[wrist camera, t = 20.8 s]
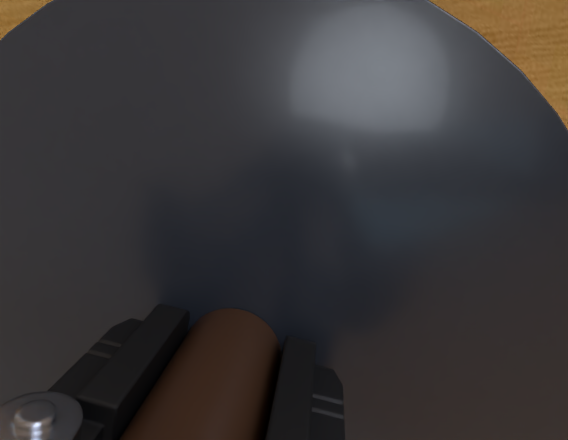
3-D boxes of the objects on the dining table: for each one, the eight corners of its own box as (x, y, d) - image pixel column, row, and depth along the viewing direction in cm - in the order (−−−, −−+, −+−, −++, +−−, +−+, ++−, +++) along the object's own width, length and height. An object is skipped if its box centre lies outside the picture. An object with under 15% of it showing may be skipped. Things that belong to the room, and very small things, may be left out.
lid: (732, 60, 9) (1601, -50, 3) (460, 641, 14) (566, 1070, 7) (-60, -103, 10) (-704, -457, 4) (-60, 494, 14) (-344, 773, 8)
